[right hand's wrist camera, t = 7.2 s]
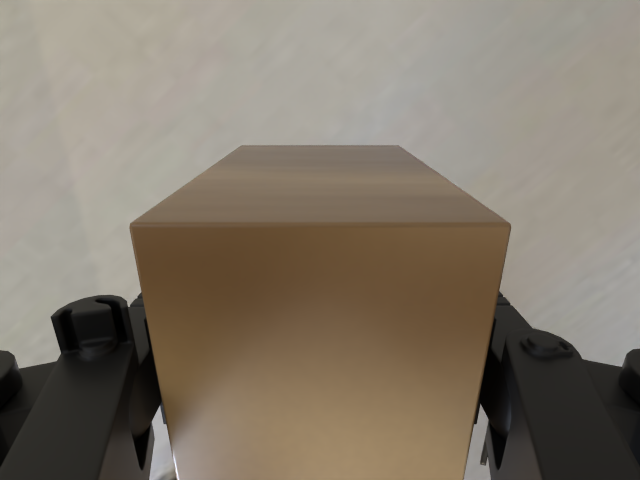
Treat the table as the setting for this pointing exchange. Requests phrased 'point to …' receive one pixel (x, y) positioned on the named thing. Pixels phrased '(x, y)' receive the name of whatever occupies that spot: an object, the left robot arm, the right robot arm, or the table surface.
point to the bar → (320, 314)
